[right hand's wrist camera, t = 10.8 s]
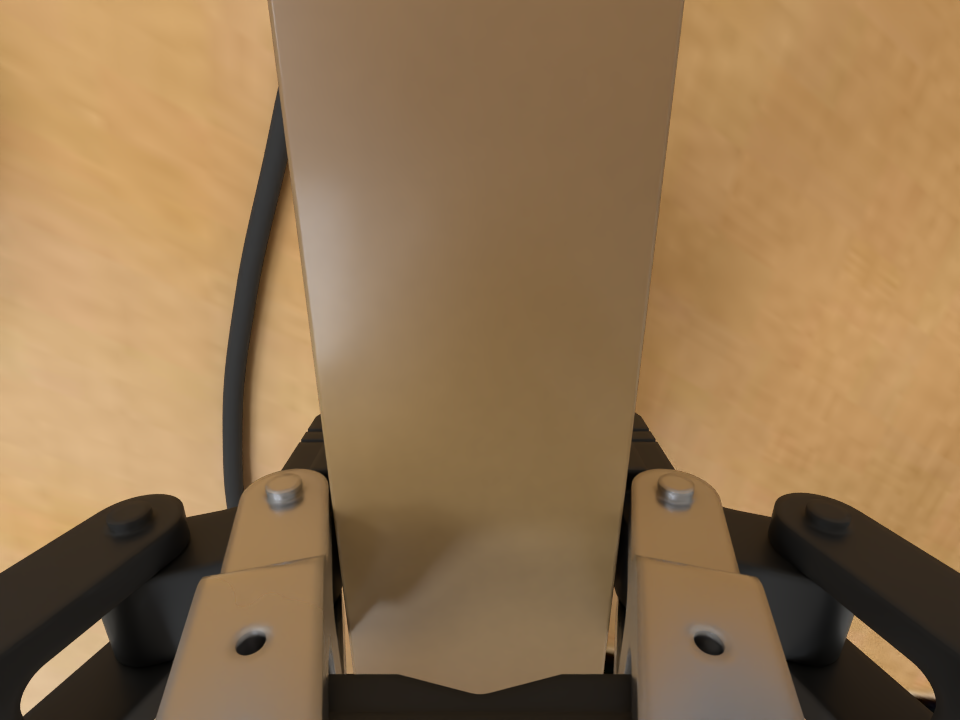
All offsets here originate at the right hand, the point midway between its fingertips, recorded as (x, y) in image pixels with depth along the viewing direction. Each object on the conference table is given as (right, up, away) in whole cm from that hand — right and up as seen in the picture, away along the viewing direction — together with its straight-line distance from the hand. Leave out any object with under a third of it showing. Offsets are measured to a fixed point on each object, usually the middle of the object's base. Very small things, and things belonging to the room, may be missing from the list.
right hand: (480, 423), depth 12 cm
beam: (0, -30, +14) cm, 33 cm away
